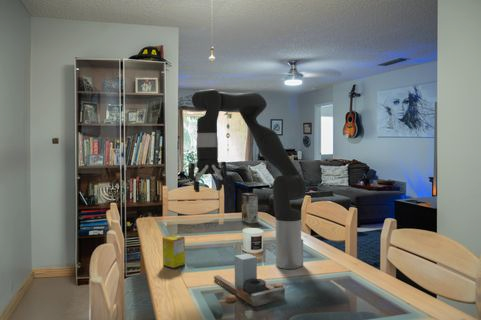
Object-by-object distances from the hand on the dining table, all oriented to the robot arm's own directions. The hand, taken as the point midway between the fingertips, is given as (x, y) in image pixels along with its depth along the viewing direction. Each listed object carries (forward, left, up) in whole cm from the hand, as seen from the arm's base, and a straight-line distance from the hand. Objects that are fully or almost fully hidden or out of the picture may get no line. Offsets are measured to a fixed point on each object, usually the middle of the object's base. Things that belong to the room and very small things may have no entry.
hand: (208, 191), depth 141 cm
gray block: (-1, +24, -28) cm, 37 cm away
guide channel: (-1, +24, -28) cm, 37 cm away
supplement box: (+10, -9, -28) cm, 31 cm away
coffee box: (-57, -64, -28) cm, 90 cm away
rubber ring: (-1, +29, -28) cm, 41 cm away
